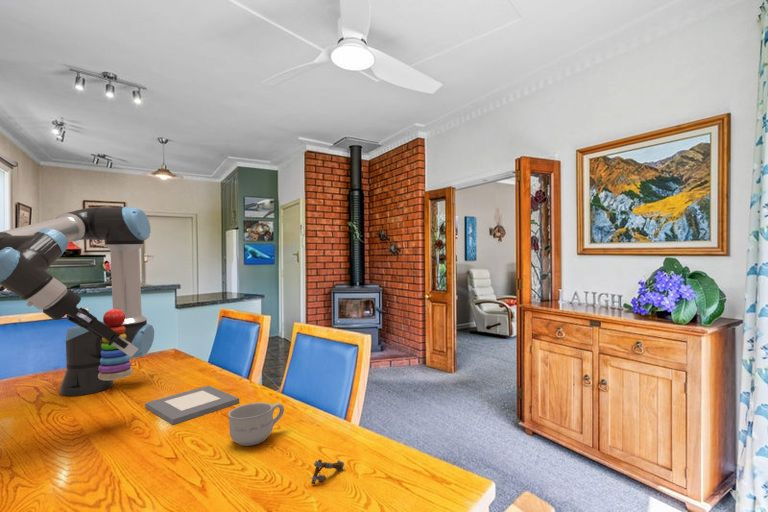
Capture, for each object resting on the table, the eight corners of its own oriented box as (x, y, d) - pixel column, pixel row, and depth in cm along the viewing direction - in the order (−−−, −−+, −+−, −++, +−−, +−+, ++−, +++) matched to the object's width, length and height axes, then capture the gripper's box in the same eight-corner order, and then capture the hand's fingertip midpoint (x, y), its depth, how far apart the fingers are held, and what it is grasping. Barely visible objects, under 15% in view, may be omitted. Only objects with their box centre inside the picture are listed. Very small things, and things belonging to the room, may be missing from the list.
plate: (145, 407, 120) (145, 402, 120) (208, 389, 135) (208, 384, 135) (172, 424, 107) (172, 418, 107) (239, 403, 123) (239, 397, 123)
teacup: (231, 455, 90) (230, 421, 90) (226, 436, 100) (226, 405, 100) (290, 441, 97) (290, 409, 97) (280, 424, 106) (280, 395, 106)
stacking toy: (139, 372, 110) (138, 307, 110) (117, 382, 102) (116, 311, 102) (113, 372, 111) (113, 307, 111) (90, 381, 103) (89, 311, 103)
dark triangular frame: (305, 482, 78) (312, 458, 79) (332, 481, 83) (338, 459, 85) (311, 485, 77) (318, 461, 78) (338, 484, 82) (344, 461, 84)
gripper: (33, 308, 101) (108, 356, 114) (50, 314, 89) (131, 368, 102) (58, 286, 105) (128, 335, 118) (78, 290, 93) (153, 344, 106)
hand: (129, 350), depth 110 cm, fingers closed on stacking toy, 6 cm apart
